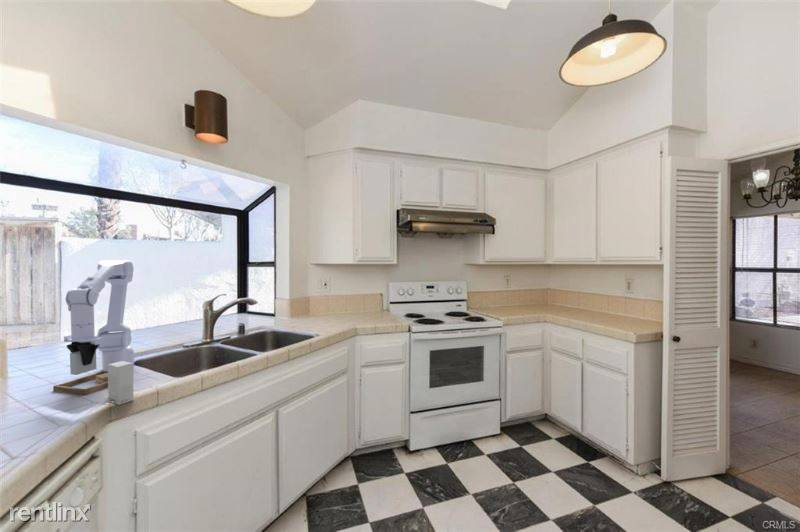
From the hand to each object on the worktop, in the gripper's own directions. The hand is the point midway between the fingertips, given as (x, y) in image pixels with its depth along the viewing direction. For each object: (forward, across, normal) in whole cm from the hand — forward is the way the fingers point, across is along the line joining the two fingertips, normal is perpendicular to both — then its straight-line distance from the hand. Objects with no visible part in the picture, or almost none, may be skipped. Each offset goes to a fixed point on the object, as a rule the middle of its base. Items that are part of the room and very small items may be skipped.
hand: (83, 364), depth 114 cm
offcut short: (+8, 0, +6) cm, 10 cm away
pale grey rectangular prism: (+2, 0, 0) cm, 3 cm away
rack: (+9, 0, +3) cm, 10 cm away
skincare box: (+10, +19, -3) cm, 22 cm away
